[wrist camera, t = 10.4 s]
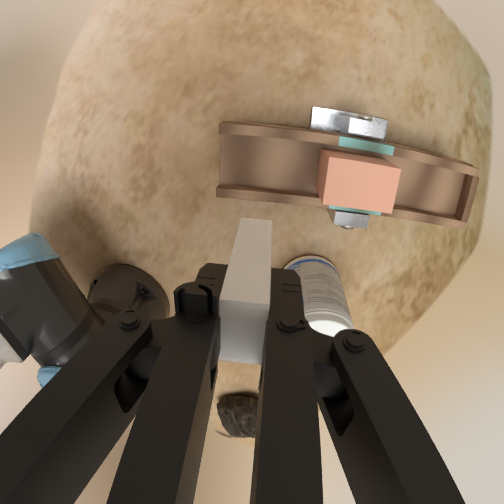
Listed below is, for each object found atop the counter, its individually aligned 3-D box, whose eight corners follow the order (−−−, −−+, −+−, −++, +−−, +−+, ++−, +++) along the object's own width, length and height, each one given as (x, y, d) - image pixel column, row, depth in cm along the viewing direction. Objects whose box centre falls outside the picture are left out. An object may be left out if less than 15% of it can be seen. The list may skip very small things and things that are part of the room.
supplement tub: (283, 248, 45) (286, 313, 32) (346, 257, 45) (369, 322, 32) (273, 301, 50) (271, 371, 37) (329, 308, 49) (342, 377, 37)
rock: (208, 396, 62) (209, 434, 53) (254, 381, 61) (260, 421, 52) (229, 414, 67) (232, 450, 58) (272, 401, 66) (279, 438, 57)
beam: (227, 179, 39) (215, 198, 32) (230, 118, 35) (218, 123, 28) (438, 208, 38) (464, 231, 31) (450, 155, 34) (480, 169, 27)
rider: (315, 187, 33) (322, 204, 28) (321, 147, 30) (329, 156, 26) (375, 196, 32) (391, 213, 27) (383, 157, 30) (401, 169, 25)
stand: (300, 202, 41) (306, 226, 34) (312, 105, 35) (322, 107, 28) (369, 210, 41) (388, 236, 34) (386, 119, 35) (411, 125, 27)
